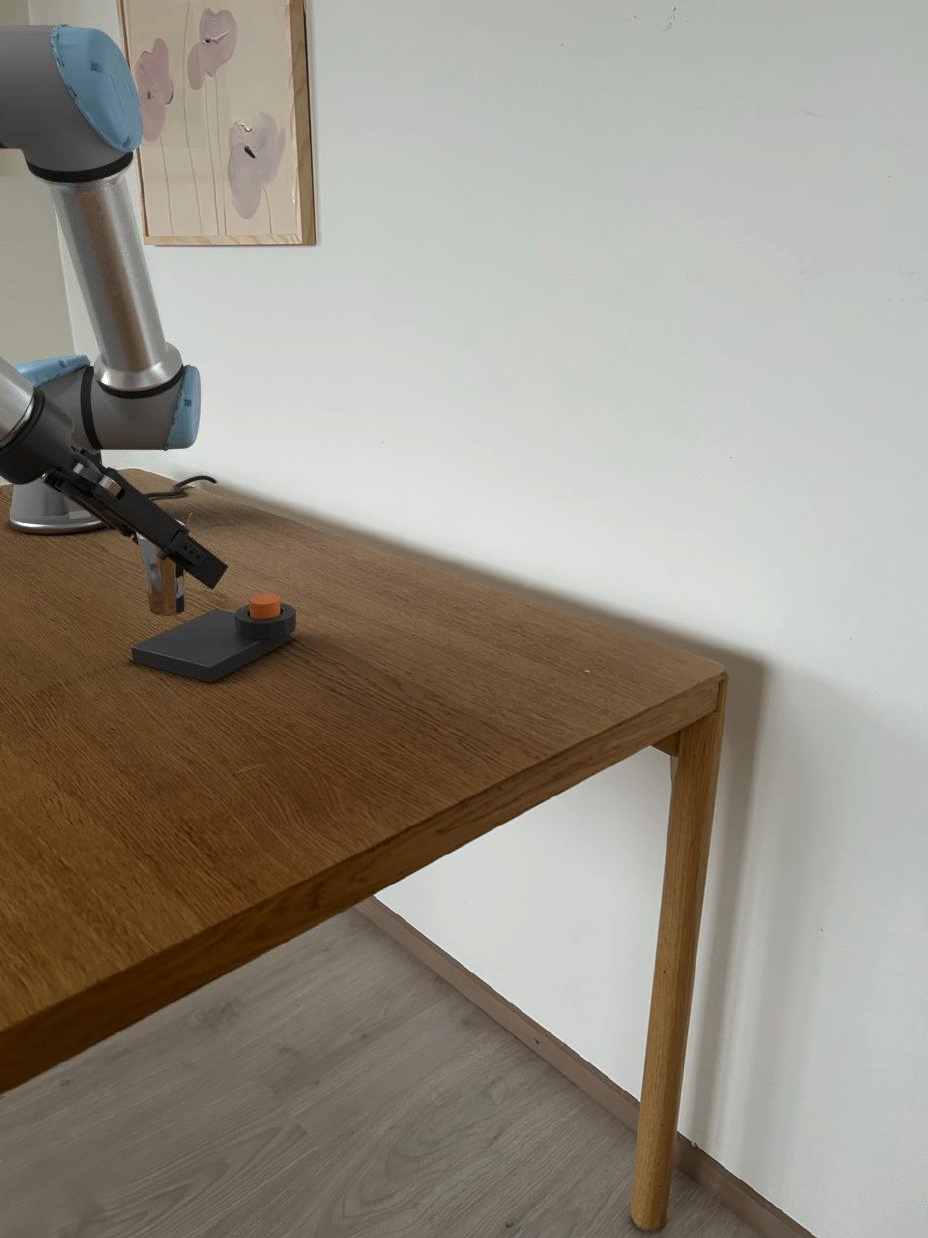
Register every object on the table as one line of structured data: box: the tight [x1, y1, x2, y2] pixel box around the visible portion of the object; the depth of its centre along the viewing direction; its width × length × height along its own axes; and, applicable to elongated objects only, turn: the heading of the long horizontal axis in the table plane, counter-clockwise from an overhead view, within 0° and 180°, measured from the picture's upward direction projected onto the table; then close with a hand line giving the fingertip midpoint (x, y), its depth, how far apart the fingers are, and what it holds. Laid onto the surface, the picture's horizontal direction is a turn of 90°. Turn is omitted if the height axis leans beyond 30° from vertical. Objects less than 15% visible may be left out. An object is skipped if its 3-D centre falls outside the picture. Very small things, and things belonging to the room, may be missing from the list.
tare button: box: [248, 593, 281, 619], centre depth 96 cm, size 3×3×2 cm
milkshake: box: [136, 512, 193, 617], centre depth 90 cm, size 4×5×10 cm
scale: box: [130, 602, 298, 684], centre depth 95 cm, size 13×12×4 cm
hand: (203, 570), depth 94 cm, fingers closed on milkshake, 5 cm apart
